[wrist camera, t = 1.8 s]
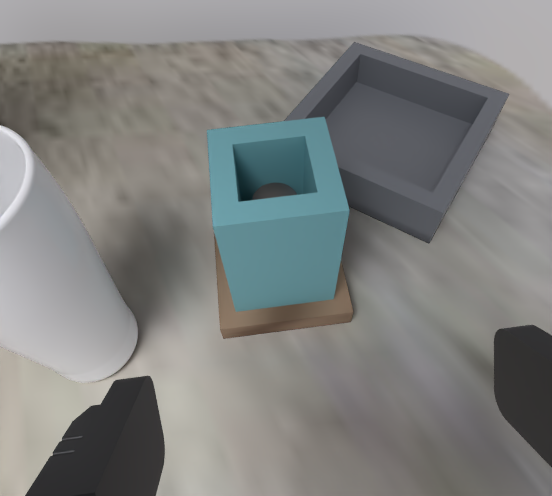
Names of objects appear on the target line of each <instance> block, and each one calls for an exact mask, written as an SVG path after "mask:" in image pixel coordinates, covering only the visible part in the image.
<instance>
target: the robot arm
mask: <svg viewBox="0 0 552 496" xmlns="http://www.w3.org/2000/svg"><path fill="white" fill-rule="evenodd" d="M494 392H495V398H496V402H497V405H498V407H499V410H500V412H501V413H502V415H503V416H504V418H505V419H506V420H507V421H508V422H509V423H510V424H511V425H512V426H513V427H514V428H515V430H516V431H517V432H518V433H519V434H520V435H521V436H522V437H523V438H524V439H525V440H526V441H527V442H528V443H529V444H530V445H531V446H532V447H533V448H534V449H535V450H536V451H537V452H538V454H539V455H540V456H541V457H542V458H543V459H544V460H545V461H546V462H547V463H548V464H549V465H550V466H551V467H552V336H551V335H550V334H548V333H546V332H545V331H543V330H541V329H540V328H538V327H537V326H534V325H526V326H519V327H512V328H504V329H499V330H498V331H497V332H496V334H495V338H494ZM164 456H165V445H164V436H163V430H162V425H161V420H160V415H159V410H158V405H157V400H156V394H155V389H154V385H153V381H152V379H151V377H150V376H143V377H135V378H128V379H120V380H115V381H114V382H113V384H112V386H111V387H110V389H109V391H108V393H107V394H106V396H105V398H104V400H103V401H102V403H101V405H94V406H91V407H89V408H88V409H87V410H86V411H85V412H83V413H82V414H81V415H80V416H79V417H77V418H76V419H75V420H74V421H73V422H72V423H71V425H70V427H69V428H68V430H67V431H66V433H65V434H64V436H63V437H62V441H61V442H59V444H58V445H57V447H56V448H55V450H54V451H53V456H50V458H49V459H48V461H47V462H46V464H45V466H44V467H43V469H42V470H41V472H40V473H39V475H38V476H37V478H36V480H35V481H34V483H33V484H32V486H31V487H30V489H29V491H28V492H27V494H26V495H25V496H156V492H157V488H158V485H159V481H160V477H161V473H162V469H163V465H164Z"/></svg>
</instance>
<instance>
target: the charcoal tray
mask: <svg viewBox="0 0 552 496" xmlns="http://www.w3.org/2000/svg"><path fill="white" fill-rule="evenodd" d="M508 96H509V94H508V93H505V92H502V91H499V90H496V89H493V88H490V87H487V86H484V85H481V84H478V83H475V82H472V81H469V80H466V79H463V78H460V77H457V76H454V75H451V74H448V73H445V72H442V71H439V70H436V69H433V68H430V67H427V66H424V65H421V64H418V63H415V62H412V61H409V60H406V59H403V58H400V57H398V56H395V55H392V54H389V53H386V52H383V51H380V50H377V49H374V48H371V47H368V46H365V45H362V44H359V43H356V42H354V43H353V44H352V45H351V46H350V47H349V48H348V50H347V51H346V52H345V53H344V54H343V55H342V56H341V57H340V59H339V60H338V61H337V62H336V63H335V64H334V65H333V66H332V68H331V69H330V70H329V71H328V72H327V73H326V74H325V75H324V76H323V78H322V79H321V80H320V81H319V82H318V83H317V84H316V85H315V87H314V88H313V89H312V90H311V91H310V92H309V93H308V94H307V96H306V97H305V98H304V99H303V100H302V101H301V102H300V103H299V105H298V106H297V107H296V108H295V109H294V110H293V111H292V112H291V113H290V115H289V116H288V117H287V118H286V119H285V120H284V121H291V120H300V119H308V118H317V117H325V120H326V124H327V128H328V131H329V135H330V139H331V143H332V146H333V150H334V154H335V157H336V161H337V165H338V169H339V172H340V176H341V180H342V184H343V187H344V191H345V195H346V199H347V202H348V206H350V207H352V208H354V209H356V210H358V211H360V212H363V213H365V214H367V215H369V216H371V217H373V218H375V219H378V220H380V221H382V222H384V223H386V224H388V225H390V226H393V227H395V228H397V229H399V230H401V231H403V232H405V233H408V234H410V235H412V236H414V237H416V238H418V239H420V240H423V241H425V242H427V243H430V241H431V239H432V237H433V235H434V234H435V232H436V230H437V228H438V226H439V225H440V223H441V221H442V219H443V217H444V215H445V214H446V212H447V210H448V208H449V206H450V204H451V203H452V201H453V199H454V197H455V195H456V194H457V192H458V190H459V188H460V186H461V184H462V183H463V181H464V179H465V177H466V175H467V173H468V172H469V170H470V168H471V166H472V164H473V162H474V161H475V159H476V157H477V155H478V153H479V152H480V150H481V148H482V146H483V144H484V142H485V141H486V139H487V137H488V135H489V133H490V131H491V130H492V128H493V126H494V124H495V122H496V120H497V118H498V116H499V114H500V112H501V110H502V108H503V106H504V104H505V102H506V100H507V98H508Z"/></svg>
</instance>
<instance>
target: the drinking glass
mask: <svg viewBox="0 0 552 496" xmlns="http://www.w3.org/2000/svg"><path fill="white" fill-rule="evenodd" d="M137 339H138V326H137V322H136V319H135V316H134V315H133V313H132V311H131V310H130V309H129V307H128V306H127V305H126V303H125V302H124V300H123V298H122V296H121V294H120V292H119V291H118V289H117V287H116V285H115V283H114V281H113V279H112V277H111V275H110V274H109V272H108V270H107V268H106V266H105V264H104V262H103V260H102V258H101V256H100V254H99V252H98V250H97V248H96V246H95V245H94V243H93V241H92V239H91V237H90V235H89V233H88V231H87V229H86V227H85V225H84V224H83V222H82V220H81V218H80V217H79V215H78V213H77V211H76V210H75V208H74V206H73V205H72V203H71V201H70V200H69V198H68V197H67V195H66V194H65V192H64V191H63V189H62V188H61V187H60V185H59V184H58V182H57V181H56V179H55V178H54V177H53V175H52V174H51V173H50V171H49V170H48V169H47V168H46V166H45V165H44V164H43V162H42V161H41V160H40V159H39V157H38V156H37V155H36V154H35V152H34V151H33V150H32V149H31V147H30V146H29V144H28V143H27V142H26V141H25V140H24V139H23V138H22V137H21V136H20V135H19V134H17V133H16V132H15V131H13V130H11V129H9V128H7V127H4V126H2V125H0V347H1V348H4V349H6V350H8V351H11V352H13V353H15V354H17V355H20V356H22V357H24V358H27V359H29V360H31V361H33V362H36V363H38V364H40V365H42V366H45V367H47V368H49V369H51V370H53V371H55V372H56V373H58V374H59V375H61V376H63V377H64V378H66V379H69V380H71V381H75V382H81V383H89V382H95V381H99V380H102V379H105V378H107V377H109V376H111V375H112V374H114V373H116V372H117V371H118V370H119V369H121V368H122V367H123V366H124V365H125V364H126V362H127V361H128V360H129V358H130V357H131V355H132V353H133V352H134V349H135V347H136V344H137Z"/></svg>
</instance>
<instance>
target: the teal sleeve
mask: <svg viewBox="0 0 552 496" xmlns="http://www.w3.org/2000/svg"><path fill="white" fill-rule="evenodd" d="M207 139H208V156H209V172H210V188H211V205H212V221H213V229H214V233H215V237H216V240H217V244H218V248H219V252H220V255H221V259H222V263H223V267H224V270H225V274H226V278H227V281H228V285H229V289H230V293H231V296H232V300H233V304H234V307H235V311H236V312H239V311H247V310H255V309H262V308H270V307H278V306H285V305H293V304H301V303H309V302H316V301H324V300H332V299H334V295H335V289H336V284H337V278H338V273H339V267H340V261H341V256H342V250H343V245H344V239H345V233H346V228H347V222H348V217H349V211H350V210H349V206H348V202H347V199H346V195H345V191H344V187H343V184H342V180H341V176H340V172H339V169H338V165H337V161H336V157H335V154H334V150H333V146H332V143H331V139H330V135H329V131H328V128H327V124H326V120H325V117H317V118H308V119H300V120H291V121H282V122H273V123H264V124H255V125H247V126H238V127H229V128H220V129H211V130H207ZM275 182H276V183H283V184H286V185H288V186H290V187H291V188H293V189H294V190H295V192H296V193H297V195H291V196H283V197H275V198H266V199H258V200H252V198H253V195H254V193H255V192H256V190H257V189H258V188H260V187H261V186H263V185H265V184H268V183H275Z"/></svg>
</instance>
